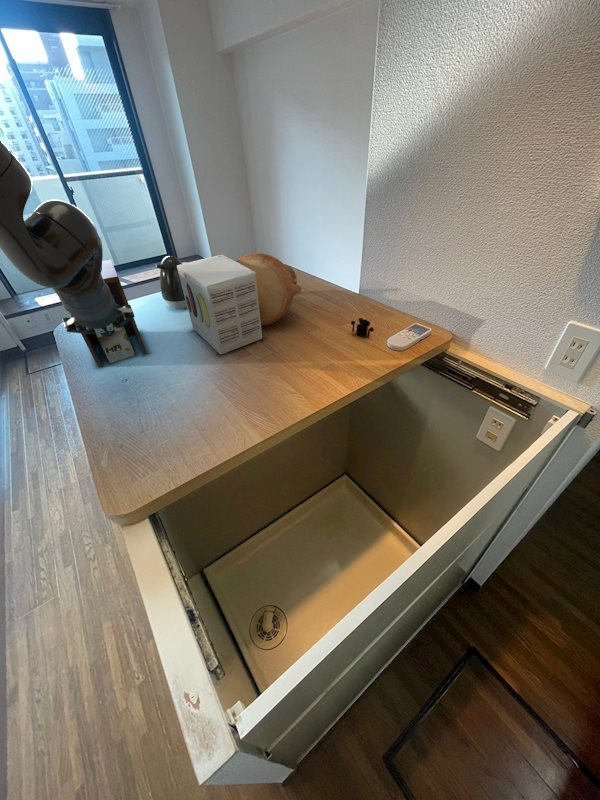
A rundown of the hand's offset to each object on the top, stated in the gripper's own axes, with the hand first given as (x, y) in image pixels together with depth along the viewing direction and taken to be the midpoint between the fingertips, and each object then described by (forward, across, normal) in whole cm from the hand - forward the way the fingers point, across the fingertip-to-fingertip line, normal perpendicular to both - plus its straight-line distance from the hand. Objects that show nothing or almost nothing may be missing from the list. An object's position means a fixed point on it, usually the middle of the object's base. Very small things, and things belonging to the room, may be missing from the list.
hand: (108, 332), depth 72 cm
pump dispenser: (+27, -21, -13) cm, 37 cm away
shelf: (+14, 0, 0) cm, 14 cm away
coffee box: (+14, 0, +1) cm, 14 cm away
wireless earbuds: (-5, -59, +19) cm, 62 cm away
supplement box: (+9, -27, +5) cm, 29 cm away
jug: (+14, -45, 0) cm, 47 cm away
